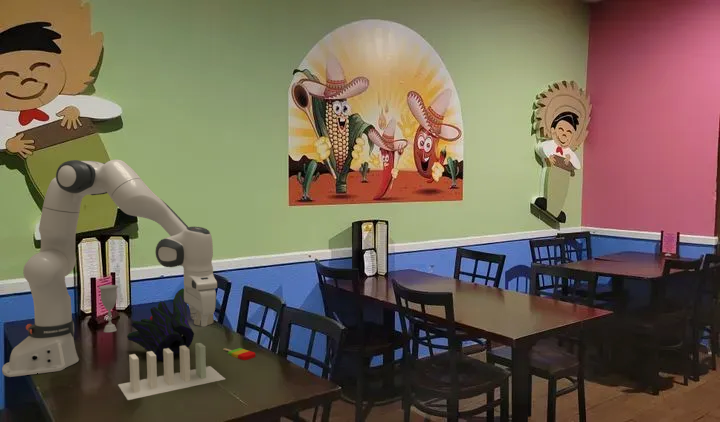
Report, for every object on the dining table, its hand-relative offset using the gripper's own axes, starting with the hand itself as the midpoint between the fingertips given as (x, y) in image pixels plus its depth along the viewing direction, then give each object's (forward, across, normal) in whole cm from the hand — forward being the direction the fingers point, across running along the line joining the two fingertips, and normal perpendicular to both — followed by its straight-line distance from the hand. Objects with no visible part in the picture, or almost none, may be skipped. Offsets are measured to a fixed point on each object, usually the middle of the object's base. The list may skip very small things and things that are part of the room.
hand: (198, 322), depth 182 cm
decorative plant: (+18, -33, -3) cm, 38 cm away
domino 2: (+18, 0, -14) cm, 23 cm away
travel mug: (+18, -60, +21) cm, 66 cm away
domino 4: (+17, 0, -4) cm, 18 cm away
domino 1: (+18, 0, -19) cm, 26 cm away
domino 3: (+18, 0, -9) cm, 20 cm away
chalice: (+19, -71, -14) cm, 74 cm away
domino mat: (+18, 0, -8) cm, 20 cm away
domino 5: (+17, 0, +1) cm, 17 cm away
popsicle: (+18, -15, +18) cm, 30 cm away
